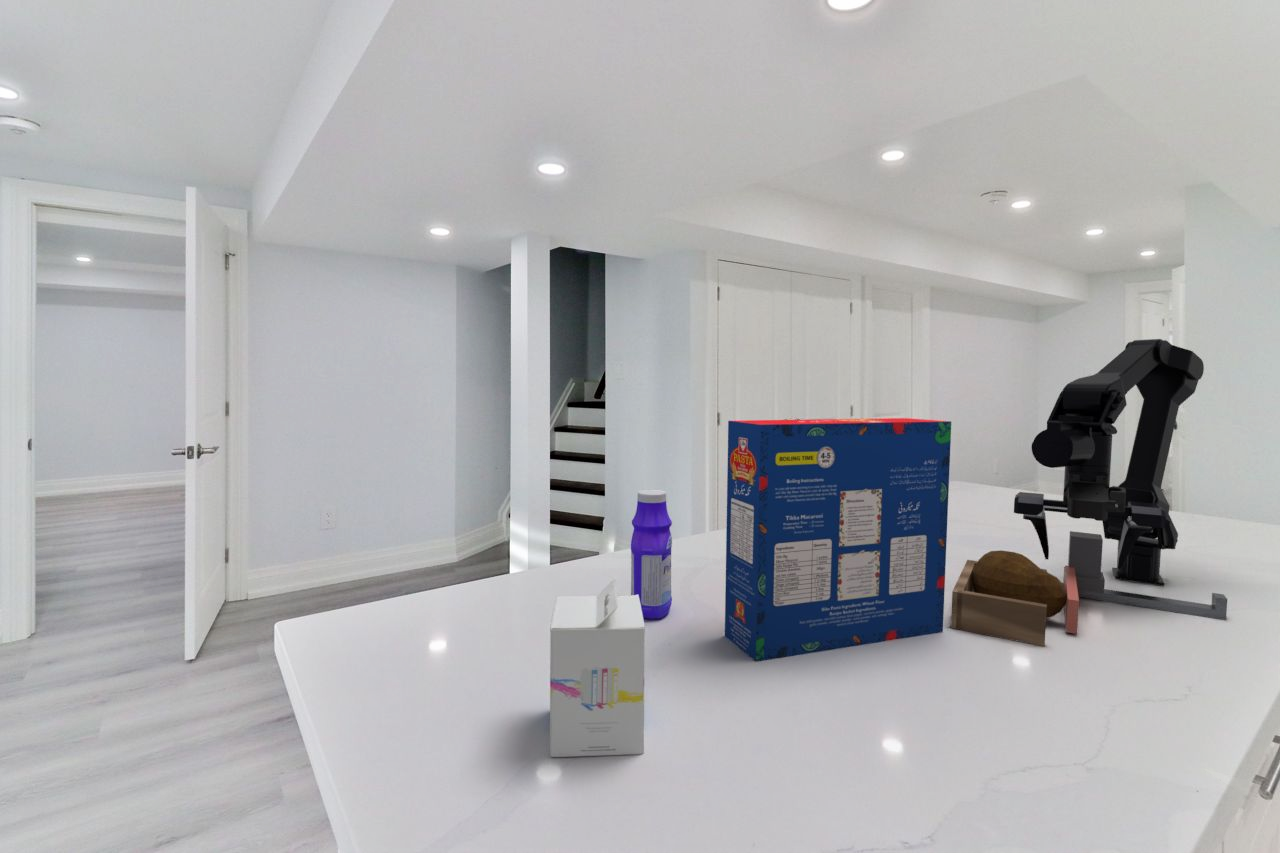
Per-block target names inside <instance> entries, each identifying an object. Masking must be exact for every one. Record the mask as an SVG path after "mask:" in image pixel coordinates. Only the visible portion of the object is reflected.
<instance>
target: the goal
mask: <svg viewBox="0 0 1280 853" xmlns="http://www.w3.org/2000/svg"><path fill="white" fill-rule="evenodd" d="M977 562H978V560H973V559H972V560H971V559H967V560H966V562H965V564H964V565H963V566H964V567H963V568H962V570H961V573H960V574H959V576H958V578H957V581H956V583H955V585H954V587H953V589H952V592H951V593H952V594H951V598H952V599H951V612H950V613H951V614H950V616H951V617H950V629H955V630H960V631H966V632H970V633H975V634H980V635H985V636H990V635H991V637H995V636H996V637H995V638H1000V637H1001V639H1005V638H1006V640H1010V639H1012V640H1011V641H1015V640H1018V641H1017V642H1020V641H1022V642H1021V643H1025V642H1027V643H1026V644H1030V643H1032V645H1035V644H1037V645H1036V646H1040V645H1042V646H1041V647H1045V646H1046V644H1045V643H1046V630H1047V618H1046V611H1047V604H1041V603H1035V602H1029V601H1023V600H1017V599H1011V598H1005V597H999V596H993V595H987V594H981V593H975V591H974V588H973V583H972V575H973V569H974V567H975V565H976V564H977ZM1046 572H1047V573H1048V570H1047V571H1046Z"/></svg>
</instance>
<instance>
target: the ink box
mask: <svg viewBox="0 0 1280 853" xmlns="http://www.w3.org/2000/svg"><path fill="white" fill-rule="evenodd" d="M616 581H617V580H616V579H613V580H612V581H610V582H609V583H608V584H607V585H606V586H605V587H604V588H603V589H602V590H601V591H600V592H599V593H598V594H597V595H579V596H578V595H577V596H576V595H574V596H573V595H571V596H568V595H567V596H562V595H561V596H560V595H558V596H556V597H555V600H554V607H553V612H552V616H551V622H550V627H549V631H550V637H549V639H550V641H549V642H550V651H549V653H550V654H549V655H550V656H549V657H550V658H549V659H550V662H549V663H550V664H549V668H550V669H549V670H550V671H549V684H550V685H549V687H550V689H549V690H550V691H549V756H550V758H566V757H567V758H569V757H600V756H625V755H628V756H629V755H642V754H644V752H645V736H644V735H645V661H646V660H645V659H646V658H645V650H646V648H645V642H646V640H645V637H646V636H645V635H646V633H645V632H646V626H645V620H644V619H645V618H643V614H642V609H641V604H640V599H639V595H631V594H630V595H617V588H616V586H617V585H616V584H617V582H616Z"/></svg>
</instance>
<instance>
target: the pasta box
mask: <svg viewBox="0 0 1280 853" xmlns="http://www.w3.org/2000/svg"><path fill="white" fill-rule="evenodd" d="M727 422H728V424H727V425H728V426H727V428H728V430H727V471H726V472H727V474H726V475H727V476H726V478H727V479H726V480H727V482H726V483H727V484H726V537H725V538H726V539H725V540H726V541H725V547H726V549H725V596H724V597H725V600H724V601H725V602H724V612H725V613H724V637H726V638H727V639H728V640H729V641H730V642H731V643H732V644H734V645H735V646H736V647H737V648H739V649H740V650H741V651H742V652H744V653H745V654H746V655H747V656H748V657H749V658H750V659H751V660H753V661H755V663H757V662H763V661H764V662H765V661H770V660H775V659H782V658H787V657H794V656H796V657H797V656H800V655H808V654H813V653H814V654H815V653H821V652H826V651H832V650H840V649H845V648H850V647H851V648H852V647H859V646H866V645H870V644H876V643H884V642H889V641H894V640H901V639H902V640H903V639H907V638H914V637H922V636H926V635H933V634H940V633H944V616H945V615H944V613H945V612H944V610H945V590H946V589H945V587H946V561H947V542H948V541H947V539H948V537H947V536H948V511H949V510H948V509H949V493H950V492H949V490H950V489H949V488H950V466H951V465H950V463H951V443H952V442H951V440H952V439H951V438H952V437H951V436H952V421H950V420H949V421H948V420H937V419H936V420H935V419H922V418H921V419H920V418H909V417H900V418H899V417H898V418H897V417H895V418H894V417H893V418H892V417H891V418H889V417H888V418H836V419H834V418H833V419H832V418H829V419H828V418H825V419H822V418H820V419H817V418H816V419H813V418H812V419H760V420H758V419H756V420H755V419H754V420H751V419H750V420H744V419H743V420H727Z"/></svg>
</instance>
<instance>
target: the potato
mask: <svg viewBox="0 0 1280 853" xmlns="http://www.w3.org/2000/svg"><path fill="white" fill-rule="evenodd" d="M977 561H978V562H977V564H976V565H975V567H974V569H973V575H972V583H973V588H974V591H975V593H981V594H987V595H993V596H999V597H1005V598H1011V599H1017V600H1023V601H1029V602H1035V603H1041V604H1047V611H1046V619H1049V618H1053V617H1055V616H1056V615H1058V614H1060V612H1062V610H1063V609H1064V606H1065V604H1066V597H1067V594H1066V591H1065V589H1064V586H1063V584H1062V583H1063V582H1061V580H1060V579H1059V578H1058V577H1056V576H1055V575H1053V574H1051V573H1049V572H1048V571H1047V572H1046V571H1044V570H1042V569H1043V568H1041V567H1039V566H1038V565H1037V564H1036V563H1035V562H1034V561H1033V560H1031V559H1030V558H1028V557H1027V556H1025V555H1024V554H1021V553H1018V552H1016V551H1009V550H1002V549H1001V550H989V552H987V553H985V554H983V555H982V556H981V557H980V558H979V559H978V560H977Z"/></svg>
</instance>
